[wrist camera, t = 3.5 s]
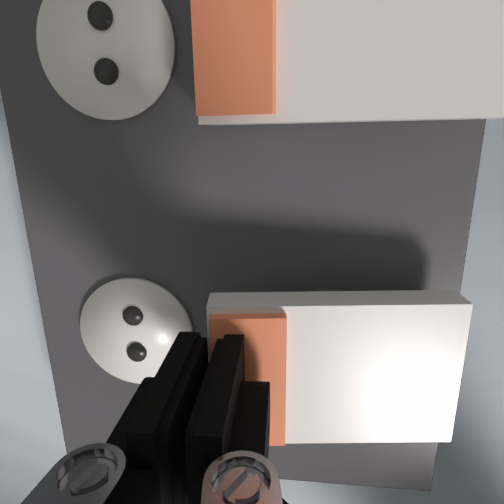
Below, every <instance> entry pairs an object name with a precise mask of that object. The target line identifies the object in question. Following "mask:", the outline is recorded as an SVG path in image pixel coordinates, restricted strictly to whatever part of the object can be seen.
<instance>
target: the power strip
mask: <svg viewBox="0 0 504 504" xmlns="http://www.w3.org/2000/svg"><path fill="white" fill-rule="evenodd" d="M0 87H1V93H2V98H3V104H4V109H5V115H6V120H7V126H8V131H9V137H10V142H11V148H12V153H13V159H14V164H15V170H16V175H17V181H18V186H19V192H20V197H21V203H22V208H23V214H24V219H25V225H26V231H27V236H28V242H29V247H30V253H31V258H32V264H33V269H34V275H35V280H36V286H37V291H38V297H39V302H40V308H41V313H42V319H43V324H44V330H45V335H46V341H47V346H48V352H49V357H50V363H51V368H52V374H53V380H54V385H55V391H56V396H57V402H58V407H59V413H60V418H61V424H62V429H63V435H64V440H65V446H66V451H67V454H68V453H70V452H72V451H73V450H75V449H77V448H80V447H82V446H85V445H89V444H94V443H106V441H107V440H108V438H109V436H110V435H111V433H112V431H113V429H114V428H115V426H116V424H117V423H118V421H119V419H120V418H121V416H122V414H123V413H124V411H125V409H126V407H127V406H128V404H129V402H130V401H131V399H132V397H133V396H134V394H135V392H136V390H137V389H138V387H139V385H140V384H141V382H142V381H143V379H144V378H146V377H155V375H156V373H157V372H158V370H159V368H160V366H161V364H162V362H163V361H164V359H165V357H166V355H167V353H168V351H169V350H170V348H171V346H172V344H173V342H174V341H175V339H176V337H177V335H178V333H179V332H200V335H201V337H206V338H207V342H208V334H207V314H206V306H207V302H208V299H209V295H210V293H221V292H308V291H395V290H455V291H457V292H458V293H459V294H460V290H461V284H462V277H463V270H464V263H465V257H466V250H467V243H468V237H469V230H470V223H471V216H472V210H473V203H474V196H475V190H476V183H477V176H478V169H479V163H480V156H481V149H482V143H483V136H484V129H485V122H486V119H464V120H422V121H379V122H337V123H294V124H252V125H199V123H198V116H196V103H195V84H194V64H193V44H192V24H191V4H190V0H0ZM208 361H209V354H208ZM437 445H438V442H403V443H299V444H285V446H269V455H268V460H270V461H271V463H272V464H273V465H274V466H275V468H276V470H277V473H278V476H279V479H287V480H299V481H311V482H323V483H336V484H348V485H360V486H372V487H385V488H397V489H409V490H421V491H431V485H432V478H433V472H434V465H435V458H436V452H437Z"/></svg>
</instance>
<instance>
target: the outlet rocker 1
mask: <svg viewBox="0 0 504 504" xmlns="http://www.w3.org/2000/svg"><path fill="white" fill-rule="evenodd" d="M190 4H191V24H192V44H193V64H194V84H195V103H196V116H198V123H199V125H252V124H294V123H337V122H379V121H422V120H464V119H500V118H504V0H190Z"/></svg>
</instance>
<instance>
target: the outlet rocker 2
mask: <svg viewBox="0 0 504 504" xmlns="http://www.w3.org/2000/svg"><path fill="white" fill-rule="evenodd" d="M472 309H473V304H472V303H471V302H470V301H468V300H467V299H466V298H464V297H463V296H462V295H460V294H459V293H458V292H457V291H455V290H395V291H308V292H221V293H210V295H209V299H208V302H207V306H206V314H207V334H208V354H209V361H210V358H211V355H212V352H213V350H214V347H215V344H216V341H217V339H223V338H224V335H225V334H244V353H245V381H264V382H270V437H269V446H285V444H299V443H403V442H451V439H452V433H453V427H454V421H455V415H456V408H457V402H458V396H459V390H460V383H461V377H462V371H463V365H464V358H465V352H466V346H467V340H468V334H469V327H470V321H471V315H472Z"/></svg>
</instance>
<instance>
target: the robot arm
mask: <svg viewBox="0 0 504 504" xmlns="http://www.w3.org/2000/svg"><path fill="white" fill-rule="evenodd" d="M269 437H270V382H264V381H245V353H244V334H225V335H224V338H223V339H217V341H216V344H215V347H214V350H213V352H212V355H211V358H210V361H208V342H207V338H206V337H201V335H200V332H179V333H178V335H177V337H176V339H175V341H174V342H173V344H172V346H171V348H170V350H169V351H168V353H167V355H166V357H165V359H164V361H163V362H162V364H161V366H160V368H159V370H158V372H157V373H156V375H155V377H146V378H144V379H143V381H142V382H141V384H140V385H139V387H138V389H137V390H136V392H135V394H134V396H133V397H132V399H131V401H130V402H129V404H128V406H127V407H126V409H125V411H124V413H123V414H122V416H121V418H120V419H119V421H118V423H117V424H116V426H115V428H114V429H113V431H112V433H111V435H110V436H109V438H108V440H107V441H106V443H94V444H89V445H85V446H82V447H80V448H77V449H75V450H73V451H72V452H70V453H68V454H67V455H65V456H64V457H63V458H61V459H60V460H59V461H58V462H57V463H56V464H55V465H54V466H53V467H52V469H51V470H50V471H49V472H48V473H47V474H46V475H45V476H44V478H43V479H42V480H41V481H40V482H39V483H38V484H37V486H36V487H35V488H34V489H33V490H32V491H31V492H30V494H29V495H28V496H27V497H26V498H25V499H24V500H23V502H22V503H21V504H288V503H287V502H286V501H285V500H284V499H283V498H282V495H281V488H280V481H279V476H278V473H277V470H276V468H275V466H274V465H273V464H272V463H271V461H270V460H268V455H269Z"/></svg>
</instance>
